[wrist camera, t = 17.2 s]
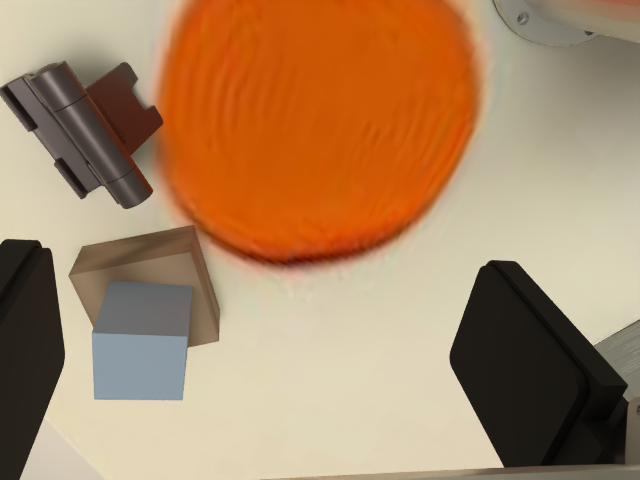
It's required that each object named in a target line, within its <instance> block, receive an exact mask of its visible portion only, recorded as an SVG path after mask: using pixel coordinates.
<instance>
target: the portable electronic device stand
mask: <svg viewBox="0 0 640 480" xmlns="http://www.w3.org/2000/svg"><path fill="white" fill-rule="evenodd" d="M137 79H138V78H137V76H136V75H135V73H134V72H133V70H132V68H131V67H130V66H129V64H127V63H125V62H124V63H121V64H120V65H119V66H117V67H116V68H114V69H113V70H112V71H110V72H109V73H107V74H106V75H104V76H103V77H101V78H100V79H99V80H97V81H96V82H94V83H93V84H91V85H90V86H88V87H87V88H86V89H84V87H83V86H82V84H81V83H80V81H79V80H78V79H77V77H76V76H75V74H74V73H73V71H72V70H71V68H70V67H69V65H68V64H67V62H66V61H63V62H61V63H53V64H49V65H47V66H45V67H43V68H41V69H40V70H39V71H38V72H37V73H36V74H35V75H34V76H30V75H28V74H25V75H23V76H21V77H19V78H17V79H15V80H13V81H11V82H9V83H7V84H5V85H4V86H2V87H0V96H1V97H2V99H3V100H4V101H5V102H6V104H7V105H8V106H9V108H10V109H11V110H12V111H13V113H14V114H15V115H16V117H17V118H18V119H19V120H20V122H21V123H22V124H23V126H24V127H25V128H26V129H27V131H28V132H30V131H33V132H34V134H35V135H36V136H37V138H38V139H39V140H40V141H41V143H42V144H43V145H44V147H45V148H46V149H47V150H48V152H49V153H50V154H51V156H52V157H53V158H54V160H55V163H54V165H55V167H56V168H57V169H58V171H59V172H60V173H61V174H62V176H63V177H64V178H65V179H66V181H67V182H68V183H69V185H70V186H71V187H72V188H73V190H74V191H75V192H76V194H77V195H78V196H79V197H80V199H83V198H85V197H86V196H87V194H88V193H89V192H91V191H92V190H94V189H96V188H97V187H99V186H101V185H102V186H105V188H106V189H107V190H108V192H109V193H110V194H111V196H112V197H113V199H114V200H115V201H116V203H117V204H120V205H121V206H122V207H123V208H124V209H129V208H132V207H134V206H137V205H139V204H140V203H142V202H143V201H145V200H146V199H147V198H148V197H150V195H151V194H152V193H153V189H152V188H151V186H150V185H149V183H148V182H147V180H146V179H145V177H144V176H143V174H142V173H141V171H140V170H139V168H138V167H137V165H136V164H135V162H134V161H133V160H132V158H131V157H130V156H131V155H132V154H133V153H134V152H135V151H136V150H137V149H138V148H139V147H140V146H141V145H142V144H143V143H144V142H145V141H146V140H147V139H148V138H149V137H150V136H151V135H152V134H153V133H154V132H155V131H156V130H157V129H158V128H159V127H160V126H161V125H162V123H163V120H162V118H161V116H160V114H159V112H158V111H157V109H156V107H155V106H152V107H150V108H148V109H146V110H144V109H143V108H142V107H141V105H140V104H139V102H138V101H137V99H136V97H135V96H134V94H133V93H132V90H131V88H132V86H133V84H134V83H135V82H136V81H137Z"/></svg>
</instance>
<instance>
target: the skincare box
mask: <svg viewBox="0 0 640 480" xmlns="http://www.w3.org/2000/svg"><path fill="white" fill-rule="evenodd" d="M594 348H595V349H596V350H597V351H598V352H599V353H600V354H601V355H602V356H603V358H604V359H605V360H606V361H607V362H608V363H609V364H610V365H611V366H612V367H613V369H614V370H615V371H616V372H617V373H618V374H619V375H620V376H621V377H622V378H623V380H624V381H625V382H626V383H627V384H628V385H629V386H628V387H627V389H626V391H625V392H624V394H623V396H624V397H625V398H626V399H627V401H628V402H630V401H631V400H632V399H634V398H635V397H640V321H638V322H636V323H634V324H633V325H631V326H629V327H627V328H625V329H624V330H622V331H620V332H618V333H616V334H614V335H612V336H611V337H609V338H607V339H605V340H603V341H602V342H600V343H598V344H596V345H595V346H594Z"/></svg>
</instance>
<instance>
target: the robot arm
mask: <svg viewBox="0 0 640 480" xmlns="http://www.w3.org/2000/svg"><path fill="white" fill-rule="evenodd" d="M494 2H495V5H496V7H497V10H498V12H499V13H500V15H501V16H502V18H503V19H504V21H505V22H506V24H507V25H508V26H509V27H510V28H511V29H513V30H514V31H515V32H516V33H517V34H518V35H520V36H522V37H524V38H526V39H527V40H529V41H532V42H536V43H538V44H541V45H547V46H554V47H559V46H571V45H575V44H578V43H582V42H586V41H588V40H590V39H592V38H594V37H596V36H598V35H600V34H602V35H606V36H610V37H614V38H619V39H623V40H627V41H631V42H635V43H639V44H640V0H494ZM519 14H520V18H519V20H517V18H518V16H519ZM64 359H65V349H64V341H63V333H62V326H61V318H60V311H59V303H58V295H57V288H56V280H55V273H54V265H53V258H52V252H51V250H50V249H49V248H42V246H41V243H40V242H39V241H38V240H17V239H5V240H4V241H3V242H2V243H1V245H0V480H19V479H20V477H21V474H22V472H23V469H24V467H25V464H26V461H27V459H28V456H29V454H30V451H31V449H32V446H33V444H34V441H35V438H36V436H37V433H38V431H39V428H40V425H41V423H42V420H43V418H44V415H45V413H46V410H47V408H48V405H49V402H50V400H51V397H52V395H53V392H54V390H55V387H56V385H57V382H58V379H59V377H60V374H61V372H62V369H63V365H64ZM450 364H451V367H452V369H453V371H454V373H455V375H456V377H457V379H458V381H459V382H460V384H461V386H462V388H463V390H464V392H465V394H466V396H467V398H468V399H469V401H470V403H471V405H472V407H473V409H474V411H475V413H476V415H477V416H478V418H479V420H480V422H481V424H482V426H483V428H484V430H485V432H486V433H487V435H488V437H489V439H490V441H491V443H492V445H493V447H494V449H495V451H496V452H497V454H498V456H499V458H500V460H501V462H502V464H503V466H504V468H486V469H463V470H441V471H419V472H399V473H379V474H359V475H339V476H320V477H300V478H281V479H262V480H640V397H635V398H634V399H632V400H631V401H630V402H628V401H627V400H626V399H625V398H624V397H623V394H624V392H625V391H626V389H627V387H628V386H629V385H628V384H627V383H626V382H625V381H624V380H623V378H622V377H621V376H620V375H619V374H618V373H617V372H616V371H615V370H614V369H613V367H612V366H611V365H610V364H609V363H608V362H607V361H606V360H605V359H604V358H603V356H602V355H601V354H600V353H599V352H598V351H597V350H596V349H595V348H594V347H593V345H592V344H591V343H590V342H589V341H588V340H587V339H586V338H585V337H584V336H583V334H582V333H581V332H580V331H579V330H578V329H577V328H576V327H575V326H574V325H573V323H572V322H571V321H570V320H569V319H568V318H567V317H566V316H565V315H564V314H563V312H562V311H561V310H560V309H559V308H558V307H557V306H556V305H555V304H554V303H553V301H552V300H551V299H550V298H549V297H548V296H547V295H546V294H545V293H544V292H543V290H542V289H541V288H540V287H539V286H538V285H537V284H536V283H535V282H534V281H533V279H532V278H531V277H530V276H529V275H528V274H527V273H526V272H525V271H524V270H523V268H522V267H521V266H520V265H519V264H518V263H517V262H515V261H500V260H491V261H489V262H488V263H487V264H486V266H482V267H481V268H480V270H479V272H478V275H477V277H476V280H475V283H474V286H473V289H472V291H471V294H470V297H469V300H468V303H467V306H466V308H465V311H464V314H463V317H462V320H461V323H460V325H459V328H458V331H457V334H456V337H455V339H454V342H453V345H452V348H451V351H450Z"/></svg>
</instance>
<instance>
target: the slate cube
mask: <svg viewBox="0 0 640 480" xmlns="http://www.w3.org/2000/svg"><path fill="white" fill-rule="evenodd" d="M191 299H192V286H189V285H173V284H156V283H139V282H123V281H110V283H109V286H108V289H107V291H106V294H105V297H104V300H103V303H102V306H101V309H100V311H99V314H98V317H97V320H96V323H95V326H94V328H93V331H92V350H93V376H94V399H98V400H183V390H184V379H185V369H186V359H187V349H188V337H189V324H190V312H191Z"/></svg>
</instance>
